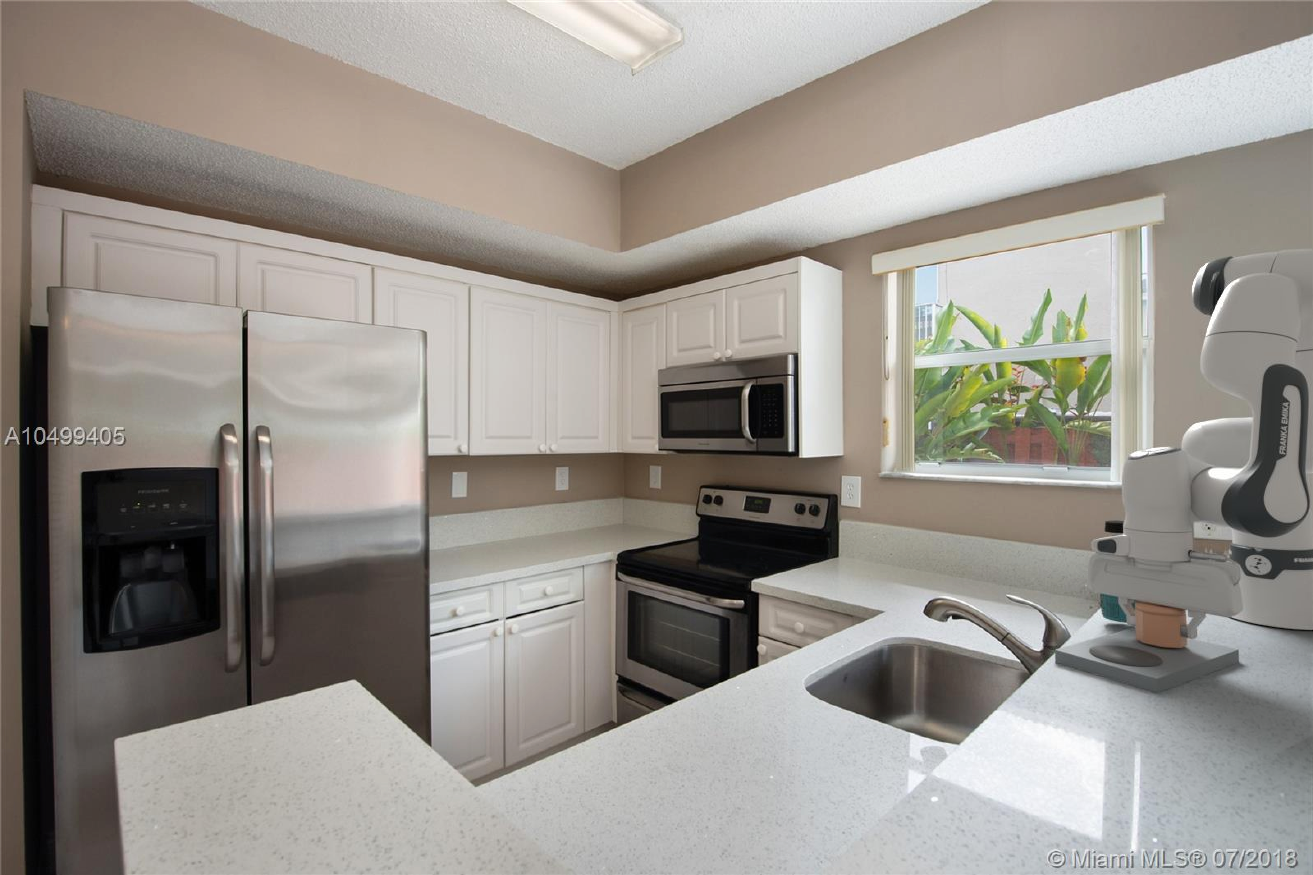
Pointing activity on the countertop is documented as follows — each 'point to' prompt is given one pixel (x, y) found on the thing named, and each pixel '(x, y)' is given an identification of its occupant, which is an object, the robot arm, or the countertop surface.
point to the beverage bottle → (1109, 602)
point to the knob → (1159, 624)
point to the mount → (1146, 660)
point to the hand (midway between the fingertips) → (1160, 631)
